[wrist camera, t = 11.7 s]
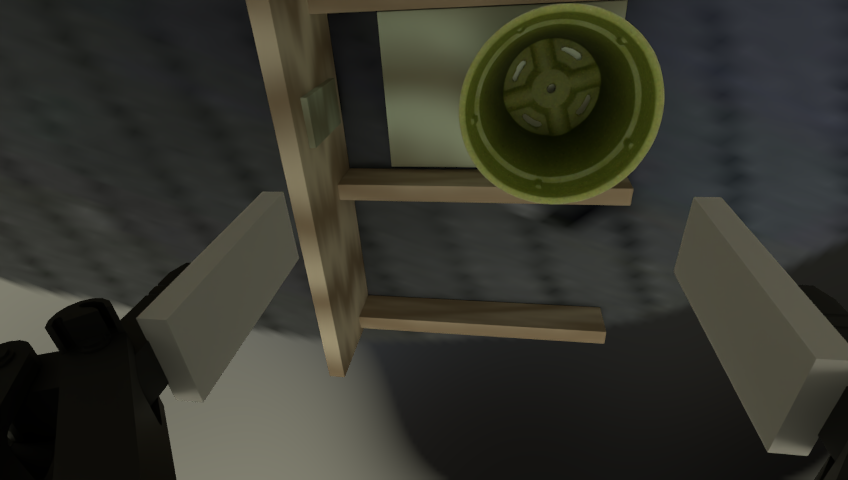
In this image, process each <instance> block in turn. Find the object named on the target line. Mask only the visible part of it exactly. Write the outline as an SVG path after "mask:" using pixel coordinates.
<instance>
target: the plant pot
mask: <svg viewBox="0 0 848 480" xmlns="http://www.w3.org/2000/svg"><path fill="white" fill-rule="evenodd" d="M564 47H567V48H571V49H574V50H576V51H577V52H579V53H580V55H581V57H582V58H581V60H577V59H576V58H574V57H573V56H572V55H570V54H568V53H566V52H565V51H562V50H561V48H564ZM522 61H526V65H525V66H524V67H523V69H522V70H521V72H520V74H519V76H518V79H517V81H515V82H514V80H513V76H514V74H515V72H516V68H517V66H518V65H519V64H520V63H521V62H522ZM552 84H553V85H555V91H554V92H552V93H549V92H548V91H547V88H548V87H549V85H552ZM587 95H590V101H589V103H588V105H587V107H586V108H585V110H584V111H583V112H582V113H580V114H576V112H577V110H578V109H579V108H580V106H581V105H582V104H583V102H584V101H585V98H586V96H587ZM663 108H664V83H663V77H662V72H661V68H660V65H659V62H658V59H657V57H656V54H655V52H654V51H653V49H652V47H651V46H650V44H649V43H648V41H647V40H646V39H645V37H644V36H643V35H642V34H641V33H640V32H639V31H638V30H637V29H636V28H635V27H634V26H633V25H631V24H630V23H629V22H628V21H626V20H625V19H624V18H622V17H620V16H619V15H617V14H615V13H613V12H611V11H608V10H606V9H603V8H600V7H597V6H592V5H587V4H578V3H561V4H553V5H547V6H544V7H540V8H537V9H534V10H531V11H529V12H526V13H524V14H522V15H520V16H518V17H516V18H514V19H512V20H511V21H509V22H508V23H506V24H505V25H504V26H502V27H501V28H500V29H499V30H497V31H496V32H495V33H494V34H493V35H492V36H491V37H490V38H489V39H488V40H487V41H486V42H485V44H484V45H483V46H482V47H481V49H480V50H479V51H478V53H477V54H476V56H475V58H474V59H473V61H472V63H471V65H470V67H469V69H468V71H467V73H466V76H465V79H464V82H463V85H462V89H461V94H460V100H459V124H460V130H461V135H462V139H463V142H464V145H465V148H466V150H467V152H468V154H469V156H470V158H471V160H472V162H473V163H474V165H475V166H476V167H477V169H478V170H479V171H480V172H481V173H482V175H483V176H484V177H485V178H486V179H488V180H489V181H490V182H491V183H492V184H494V185H495V186H496V187H498V188H499V189H501V190H503V191H504V192H506V193H508V194H510V195H513V196H515V197H517V198H520V199H523V200H526V201H530V202H534V203H543V204H566V203H572V202H578V201H583V200H586V199H589V198H592V197H595V196H597V195H599V194H601V193H604V192H606V191H607V190H609V189H610V188H612V187H614V186H615V185H617V184H618V183H619V182H621V181H622V180H623V179H625V178H626V177H627V176H628V175H629V174H630V173H631V172H632V171H633V170H634V169H635V168H636V167H637V166H638V165H639V163H640V162H641V161H642V159H643V158H644V157H645V155H646V154H647V152H648V151H649V149H650V148H651V146H652V144H653V142H654V140H655V138H656V135H657V133H658V130H659V127H660V123H661V120H662V115H663ZM524 114H526V115H528V116H529V117H530V118H532V119H533V120H535V121H539V122H541V126H539V127H535V126H532V125H531V124H529V123H528V122H526V121H525V120H524V119H523V115H524Z"/></svg>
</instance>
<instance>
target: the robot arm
mask: <svg viewBox="0 0 848 480" xmlns="http://www.w3.org/2000/svg"><path fill="white" fill-rule="evenodd" d="M298 259H299V257H298V252H297V248H296V244H295V240H294V235H293V231H292V227H291V222H290V218H289V214H288V210H287V205H286V201H285V197H284V193H283V192H262V193H261V194H260V195H259V196H258V197H257V198H256V199H255V200H254V201H253V202H252V203H251V204H250V205H249V206H248V207H247V208H246V209H245V210H244V211H243V212H242V213H241V214H240V215H239V216H238V217H237V218H236V219H235V220H234V221H233V222H232V223H231V224H230V225H229V226H228V227H227V228H226V229H225V230H224V231H223V232H222V233H221V234H220V235H219V236H218V237H217V238H216V239H215V240H214V241H213V242H212V243H211V244H210V245H209V246H208V247H207V248H206V249H205V250H204V251H203V252H202V253H201V254H200V255H199V256H198V257H197V258H196V259H195V260H194V261H193V262H192V263H185V264H184V265H182V266H180V267H178V268H177V269H175V270H173V271H172V272H170V273H169V274H168V275H167V276H166V277H165V278H164V279H163V280H162V281H161V282H160V283H159V284H158V286H155V287H154V288H153V289H152V290H151V291H150V292H149V295H148V296H147V295H146V296H145V297H144V298H143V299H142V300H141V301H140V302H139V303H138V304H137V305H136V306H135V307H134V308H133V309H132V310H131V311H129V312H128V313H127V314H126V315H125V316H124V317H123V318H122V319H121V320H119V317H118V315H117V314H116V312H115V310H114V308H113V306H112V304H111V302H110V301H109V300H106V299H103V298H93V299H88V300H84V301H80V302H77V303H75V304H72V305H70V306H67V307H66V308H64V309H62V310H61V311H59V312H57V313H56V314H55V315H54V316H53V317H52V318H51V319H49V321H48V322H47V324H46V326H45V329H46V330H47V332H48V334H49V335H50V337H51V339H52V340H53V342H54V343H55V345H56V346H57V348H58V350H59V351H58V352H52V353H46V354H41V355H37V354H36V353H35V351H34V350H33V348H32V347H31V345H30V344H29V343H28V342H26V341H21V340H18V341H9V342H6V343H2V344H0V480H176V474H175V469H174V463H173V457H172V451H171V446H170V440H169V434H168V428H167V423H166V417H165V411H164V405H163V403H162V401H161V400H160V397H159V395H160V394H161V393H162V391H163V390H164V389H165V388H166V386H167V385H169V387H170V389H171V391H172V393H173V395H174V397H175V399H176V400H182V401H192V402H193V401H194V402H204V400H205V399H206V397H207V396H208V394H209V393H210V391H211V390H212V388H213V387H214V385H215V384H216V382H217V381H218V379H219V378H220V376H221V375H222V373H223V372H224V370H225V369H226V367H227V366H228V364H229V363H230V361H231V360H232V358H233V357H234V355H235V354H236V352H237V351H238V349H239V348H240V346H241V345H242V343H243V342H244V340H245V339H246V337H247V336H248V334H249V333H250V331H251V330H252V328H253V327H254V325H255V324H256V322H257V321H258V319H259V318H260V316H261V315H262V313H263V312H264V310H265V309H266V307H267V306H268V304H269V303H270V301H271V300H272V298H273V297H274V295H275V294H276V292H277V291H278V289H279V288H280V286H281V285H282V283H283V282H284V280H285V279H286V277H287V276H288V274H289V273H290V271H291V270H292V268H293V267H294V265H295V264H296V262H297V261H298ZM674 274H675V276H676V277H677V279H678V281H679V283H680V285H681V287H682V289H683V291H684V293H685V295H686V297H687V299H688V301H689V302H690V304H691V306H692V308H693V310H694V312H695V314H696V316H697V318H698V320H699V322H700V323H701V325H702V327H703V329H704V331H705V333H706V335H707V337H708V339H709V341H710V343H711V345H712V347H713V348H714V350H715V352H716V354H717V356H718V358H719V360H720V362H721V364H722V366H723V368H724V369H725V371H726V373H727V375H728V377H729V379H730V381H731V383H732V385H733V387H734V389H735V391H736V393H737V394H738V396H739V398H740V400H741V402H742V404H743V406H744V408H745V410H746V412H747V414H748V415H749V417H750V419H751V421H752V423H753V425H754V427H755V429H756V431H757V433H758V435H759V437H760V439H761V440H762V442H763V444H764V446H765V448H766V450H767V452H770V453H782V454H792V455H804V456H808V455H809V453H810V451H811V449H812V448H813V446H814V444H815V443H816V441H817V439H818V438H820V439H821V441H822V442H823V444H824V445H825V447H826V449H827V450H828V452H829V453H830V456H829V457H828V459H827V461H826V462H825V464H824V465H823V467H822V469H821V470H820V472H819V473H818V475H817V476H816V478H815V479H814V480H848V312H847V311H846V310H845V309H844V308H843V307H842V306H841V305H840V304H839V303H838V302H837V301H836V300H835V299H834V298H832V297H830V296H829V295H827V294H826V293H824V292H822V291H821V290H819V289H818V288H816V287H815V286H808V285H797V284H796V283H795V282H794V281H793V279H792V278H791V277H790V276H789V275H788V274H787V273H786V271H785V270H784V269H783V268H782V267H781V266H780V264H779V263H778V262H777V261H776V260H775V259H774V258H773V256H772V255H771V254H770V253H769V252H768V251H767V250H766V248H765V247H764V246H763V245H762V244H761V243H760V241H759V240H758V239H757V238H756V237H755V236H754V235H753V233H752V232H751V231H750V230H749V229H748V228H747V227H746V225H745V224H744V223H743V222H742V221H741V220H740V218H739V217H738V216H737V215H736V214H735V213H734V212H733V210H732V209H731V208H730V207H729V206H728V205H727V204H726V202H725V201H724V200H723V199H722V198H721V197H694V198H693V201H692V205H691V209H690V213H689V216H688V220H687V224H686V228H685V231H684V235H683V239H682V243H681V246H680V250H679V254H678V257H677V261H676V265H675V269H674Z"/></svg>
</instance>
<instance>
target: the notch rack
mask: <svg viewBox="0 0 848 480" xmlns="http://www.w3.org/2000/svg"><path fill="white" fill-rule="evenodd" d="M575 1H594V2H575ZM554 2H573V3H578V4H587V5H592V6H597V7H600V8H603V9H606V10H608V11H611V12H613V13H615V14H617V15H619V16H620V17H622V18H624V19H625V16H626V9H627V2H628V0H615V1H596V0H246V4H247V8H248V13H249V17H250V22H251V26H252V31H253V35H254V40H255V44H256V48H257V53H258V57H259V62H260V66H261V71H262V75H263V80H264V84H265V89H266V93H267V98H268V102H269V106H270V111H271V115H272V120H273V124H274V129H275V133H276V138H277V142H278V147H279V151H280V156H281V160H282V164H283V169H284V173H285V178H286V182H287V187H288V191H289V196H290V200H291V205H292V209H293V214H294V218H295V222H296V227H297V231H298V236H299V240H300V245H301V249H302V254H303V258H304V263H305V267H306V271H307V276H308V280H309V285H310V289H311V294H312V298H313V303H314V307H315V312H316V316H317V321H318V325H319V329H320V334H321V338H322V343H323V347H324V351H325V356H326V361H327V365H328V369H329V374H330V376H337V377H345V375H346V372H347V370H348V367H349V365H350V362H351V360H352V357H353V355H354V352H355V349H356V347H357V344H358V342H359V339H360V337H361V334H362V331H363V329H364V328H371V329H387V330H402V331H418V332H433V333H449V334H464V335H479V336H495V337H510V338H526V339H541V340H557V341H574V342H589V343H604V341H605V336H606V329H605V325H604V321H603V317H602V313H601V309H600V307H581V306H562V305H544V304H525V303H506V302H487V301H468V300H449V299H430V298H411V297H393V296H374V295H368V290H367V283H366V276H365V270H364V263H363V256H362V249H361V242H360V236H359V229H358V222H357V215H356V208H355V201H354V200H373V201H424V202H476V203H527V204H543V203H534V202H530V201H526V200H523V199H520V198H517V197H515V196H513V195H510V194H508V193H506V192H504V191H503V190H501V189H499V188H498V187H496V186H495V185H494V184H492V183H491V182H490V181H489V180H488V179H486V178H485V177H484V176H483V175H482V173H481V172H480V171H479V170H478V169H367V168H350V167H349V161H348V154H347V147H346V140H345V133H344V126H343V120H342V113H341V106H340V99H339V92H338V86H337V79H336V72H335V65H334V58H333V51H332V45H331V38H330V31H329V24H328V17H327V13H344V12H365V11H383V12H377V19H378V30H379V40H380V50H381V61H382V71H383V81H384V91H385V102H386V112H387V122H388V133H389V143H390V153H391V164H392V167H476V166H475V165H474V163H473V162H472V160H471V158H470V156H469V154H468V152H467V150H466V148H465V145H464V142H463V139H462V135H461V130H460V124H459V100H460V94H461V89H462V85H463V82H464V79H465V76H466V73H467V71H468V69H469V67H470V65H471V63H472V61H473V59H474V58H475V56H476V54H477V53H478V51H479V50H480V49H481V47H482V46H483V45H484V44H485V42H486V41H487V40H488V39H489V38H490V37H491V36H492V35H493V34H494V33H495V32H496V31H497V30H499V29H500V28H501V27H502V26H504V25H505V24H506V23H508V22H509V21H511V20H512V19H514V18H516V17H518V16H520V15H522V14H524V13H526V12H529V11H531V10H534V9H537V8H540V7H544V6H547V5H553V4H561V3H554ZM533 3H552V4H533ZM512 4H531V5H512ZM491 5H509V6H491ZM470 6H488V7H470ZM449 7H467V8H449ZM428 8H446V9H428ZM407 9H425V10H407ZM386 10H404V11H386ZM561 50H562V51H565V52H566V53H568V54H570V55H572V56H573V57H574V58H576V59H577V60H581V58H582V57H581V55H580V53H579V52H577V51H576V50H574V49H571V48H567V47H564V48H561ZM525 65H526V61H522V62H521V63H520V64H519V65H518V66H517V68H516V72H515V74H514V76H513V80H514V82H515V81H517V79H518V76H519V74H520V72H521V70H522V69H523V67H524V66H525ZM547 91H548V92H549V93H552V92H554V91H555V85H553V84H552V85H549V87H548V88H547ZM589 101H590V95H587V96H586V98H585V101H584V102H583V104H582V105H581V106H580V108H579V109H578V110H577V112H576V114H580V113H582V112H583V111H584V110H585V108H586V107H587V105H588V103H589ZM523 119H524V120H525V121H526V122H528V123H529V124H531V125H532V126H535V127H539V126H541V122H539V121H535V120H533V119H532V118H530V117H529V116H528V115H526V114H524V115H523ZM632 194H633V187H632V185H631V183H630V181H629V179H628V177H626V178H625V179H623V180H622V181H621V182H619V183H618V184H617V185H615V186H614V187H612V188H610V189H609V190H607V191H606V192H604V193H601V194H599V195H597V196H595V197H592V198H589V199H586V200H583V201H578V202H572V203H566V204H579V205H630V204H631V199H632Z"/></svg>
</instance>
